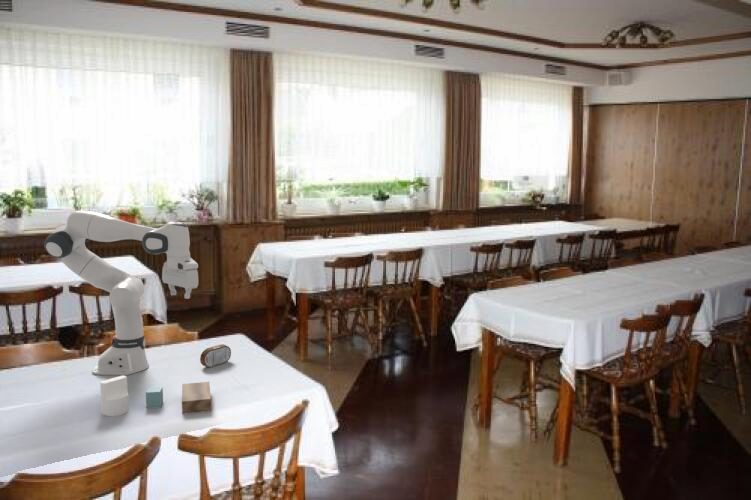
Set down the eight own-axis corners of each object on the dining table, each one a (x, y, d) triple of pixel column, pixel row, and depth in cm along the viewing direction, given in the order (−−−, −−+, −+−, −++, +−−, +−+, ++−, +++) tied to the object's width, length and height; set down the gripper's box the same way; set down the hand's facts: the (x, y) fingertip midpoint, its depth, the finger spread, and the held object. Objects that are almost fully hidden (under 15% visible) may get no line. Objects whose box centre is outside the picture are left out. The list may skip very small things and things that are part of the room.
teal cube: (146, 408, 231) (145, 392, 230) (149, 402, 235) (148, 387, 235) (160, 407, 231) (159, 391, 230) (163, 402, 236) (162, 386, 235)
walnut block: (182, 414, 226) (181, 401, 225) (182, 396, 243) (182, 384, 242) (211, 411, 228) (210, 398, 228) (209, 393, 246) (209, 381, 245)
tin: (228, 360, 285) (227, 342, 284) (232, 361, 283) (232, 343, 282) (199, 368, 273) (199, 349, 272) (204, 370, 271) (203, 351, 270)
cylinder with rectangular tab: (120, 404, 234) (119, 373, 232) (133, 410, 228) (131, 378, 226) (97, 411, 227) (95, 379, 225) (109, 418, 221) (107, 385, 220)
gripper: (157, 260, 254) (158, 294, 256) (186, 266, 241) (188, 301, 243) (171, 258, 258) (172, 291, 261) (200, 264, 246) (201, 299, 248)
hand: (180, 296), depth 252 cm, fingers open, 8 cm apart
